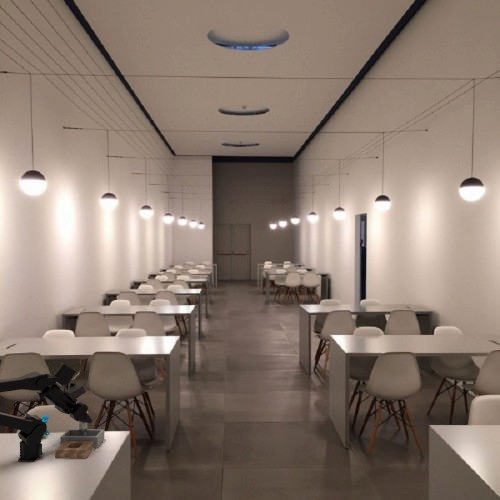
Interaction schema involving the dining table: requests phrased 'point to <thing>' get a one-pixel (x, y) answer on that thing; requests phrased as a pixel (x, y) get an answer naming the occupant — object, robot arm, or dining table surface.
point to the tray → (92, 435)
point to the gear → (45, 419)
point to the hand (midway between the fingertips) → (86, 419)
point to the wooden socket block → (74, 449)
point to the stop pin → (83, 428)
